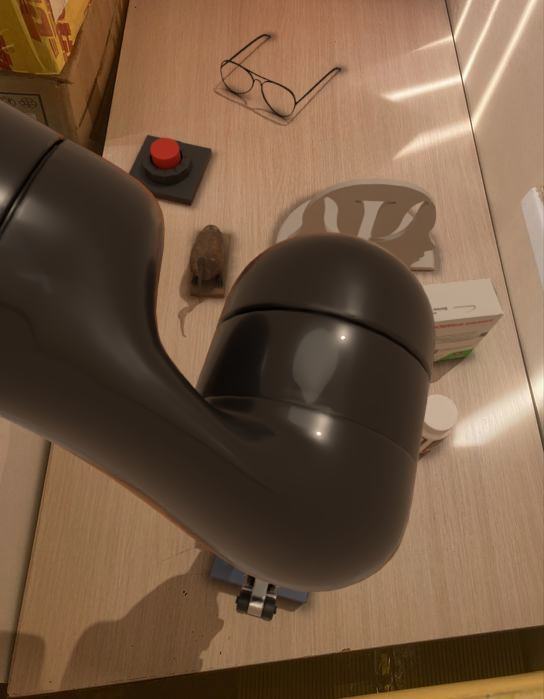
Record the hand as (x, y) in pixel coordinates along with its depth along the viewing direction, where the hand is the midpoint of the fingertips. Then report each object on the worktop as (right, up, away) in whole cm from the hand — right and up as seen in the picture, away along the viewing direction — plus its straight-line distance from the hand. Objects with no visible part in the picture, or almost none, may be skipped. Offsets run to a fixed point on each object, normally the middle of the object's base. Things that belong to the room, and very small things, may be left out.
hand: (274, 525), depth 46 cm
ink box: (+20, +16, +22) cm, 34 cm away
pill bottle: (+17, +5, +17) cm, 25 cm away
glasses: (+1, +60, +42) cm, 73 cm away
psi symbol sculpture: (+11, +32, +29) cm, 45 cm away
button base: (-15, +41, +32) cm, 55 cm away
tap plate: (-1, -5, +11) cm, 13 cm away
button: (-15, +42, +30) cm, 54 cm away
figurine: (-9, +25, +25) cm, 36 cm away
